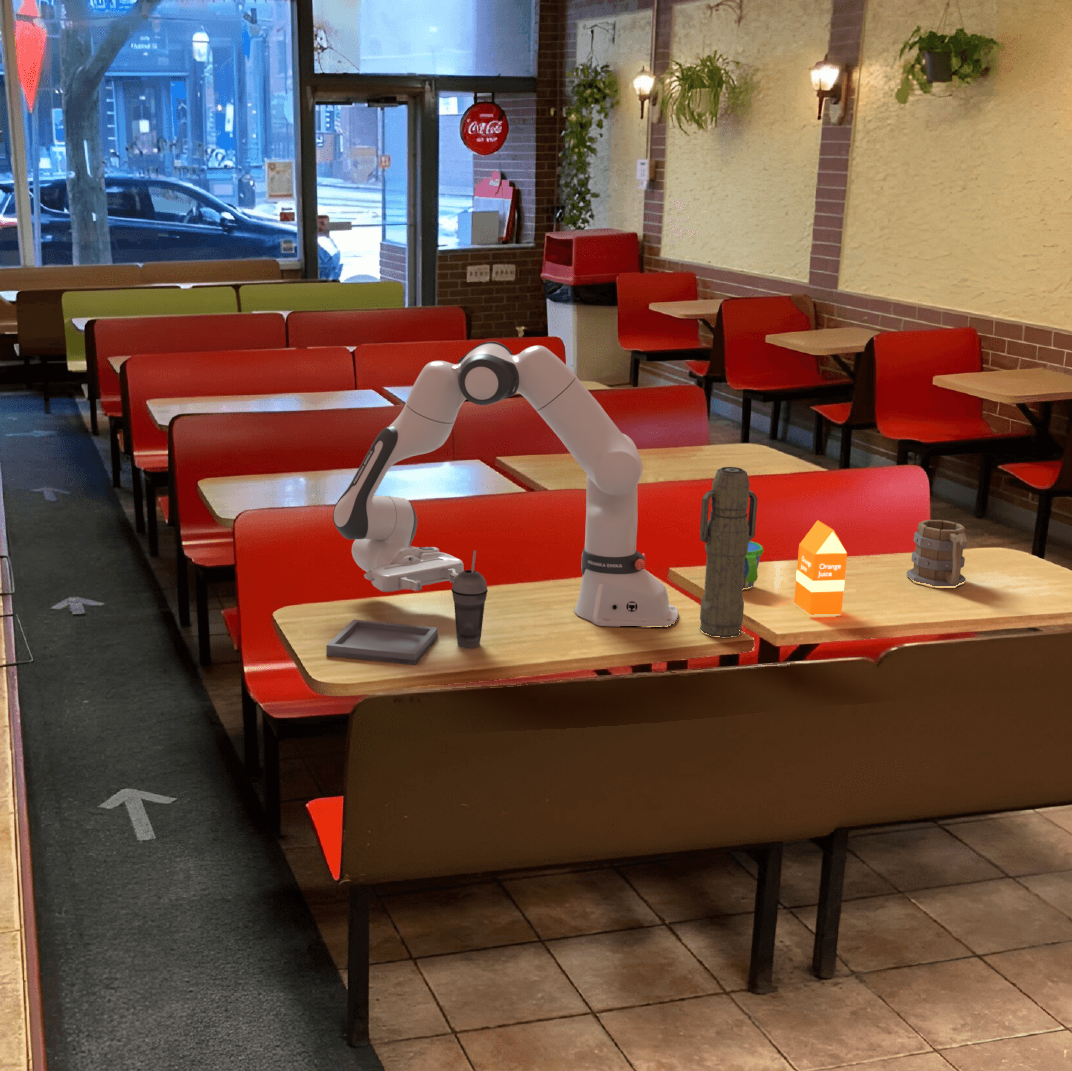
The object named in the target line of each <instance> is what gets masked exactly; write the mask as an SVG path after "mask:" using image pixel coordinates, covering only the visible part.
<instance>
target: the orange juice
mask: <svg viewBox="0 0 1072 1071" xmlns="http://www.w3.org/2000/svg"><path fill="white" fill-rule="evenodd" d="M797 554H798V555H797V556H798V557H797V567H796V573H795V574H796V575H795V588H794V600H793V604H794V603H796V604H797V605H798V606H800V607H801V608H802V609H804V610H805V611H806V612H808V613H809V614H811V615H814V614H841V615H842V610H843V602H844V600H843V599H844V591H845V582H846V580H845V579H846V570H847V561H848V560H847V559H848V552H847V550H846V549H845V547H844V546H843V544H842V542H841V540H840V538H839V536H838V534H836V532H835V530H834V529H833V528H831V527H830V526H828V525H826V524H825V523H823V522H822V521H820V520H818V519H817V520H816V522H815V523H814V524H813V526H812V527H811V528H810V530H809V531H808V532H807V533H806V534H805V537H804V538H803V539H802V540H801V542H800V543H799V544H798V553H797Z"/></svg>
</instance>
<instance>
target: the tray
mask: <svg viewBox="0 0 1072 1071" xmlns="http://www.w3.org/2000/svg"><path fill="white" fill-rule="evenodd" d="M438 637H439V627H433V626H425V625H423V626H422V625H412V624H404V623H393V622H383V621H374V620H363V619H353V620H351V621H350V622H349V623H348V624H347V625H346V626H345V627H344V628H342V630H341V631H339V633H337V635H335V636H334V637H333V638H332V639H331V640H330V641H329V642H328V643H327V644H326V648H325V649H326V656H327V657H335V658H345V659H352V660H353V659H355V660H356V659H357V660H365V661H373V662H381V663H382V662H383V663H384V662H385V663H391V662H393V663H394V664H403V665H412V666H416V665H417V664H418V663H419V662H420V660H421V659H422V658H423V656H425V654H426V653H427V652H428V650H429V649H430V648H431V647H432V646H433V645H434V643H435V642H437V640H438ZM393 663H392V664H393Z"/></svg>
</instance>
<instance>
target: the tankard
mask: <svg viewBox="0 0 1072 1071" xmlns="http://www.w3.org/2000/svg"><path fill="white" fill-rule="evenodd" d="M913 543H915V550H914V551H912V552H911V562H913V568H912V569H908V570H907V571H906V577H907V576H908V577H910V578H911V579H912V580H914V581H916V582H920V583H926V584H930V585H932V586H956V585H958V584H959V583H962V582H964V581H965V582H966V580H967V579H966V577H965V576H964V575H963V574H961V572H962V571H961V570H962V568H964V567H965V561H966V558H965V556H963V554H964V552H963V551H964V549H966V548H967V545H968V544H969V541H968V538H967V536H966V527H965V526H964V525H962V524H961V523H958V522H953V521H949V520H943V519H925V520H922V521H920V522H918V525H917V531H915V532H914V534H913ZM908 577H907V578H908Z"/></svg>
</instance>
